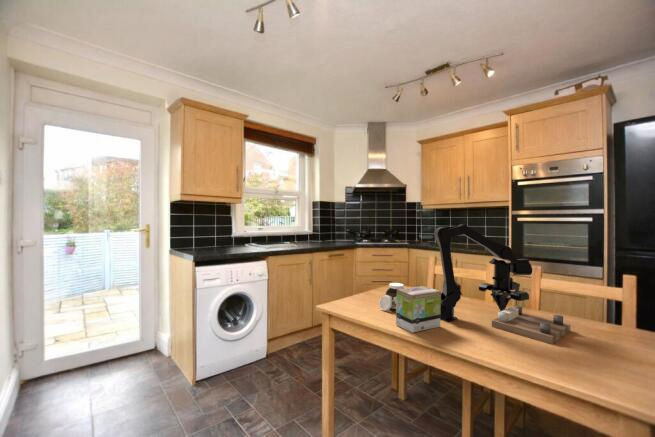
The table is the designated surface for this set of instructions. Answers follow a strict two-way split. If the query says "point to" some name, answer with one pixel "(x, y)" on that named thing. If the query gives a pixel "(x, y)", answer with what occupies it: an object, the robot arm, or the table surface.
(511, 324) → the slatted wooden base
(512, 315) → the white rectangular block
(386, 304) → the spread jar
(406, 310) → the tea box
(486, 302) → the table surface
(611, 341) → the table surface
